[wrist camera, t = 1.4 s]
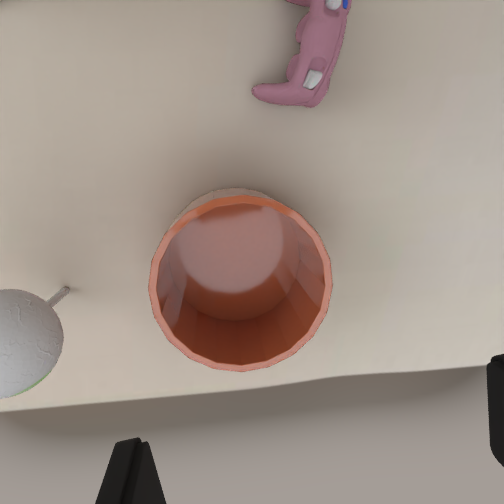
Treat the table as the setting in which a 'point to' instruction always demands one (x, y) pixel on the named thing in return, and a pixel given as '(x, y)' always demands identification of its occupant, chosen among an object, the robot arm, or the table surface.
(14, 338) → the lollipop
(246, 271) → the pen pot
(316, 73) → the video game controller
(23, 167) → the table surface
